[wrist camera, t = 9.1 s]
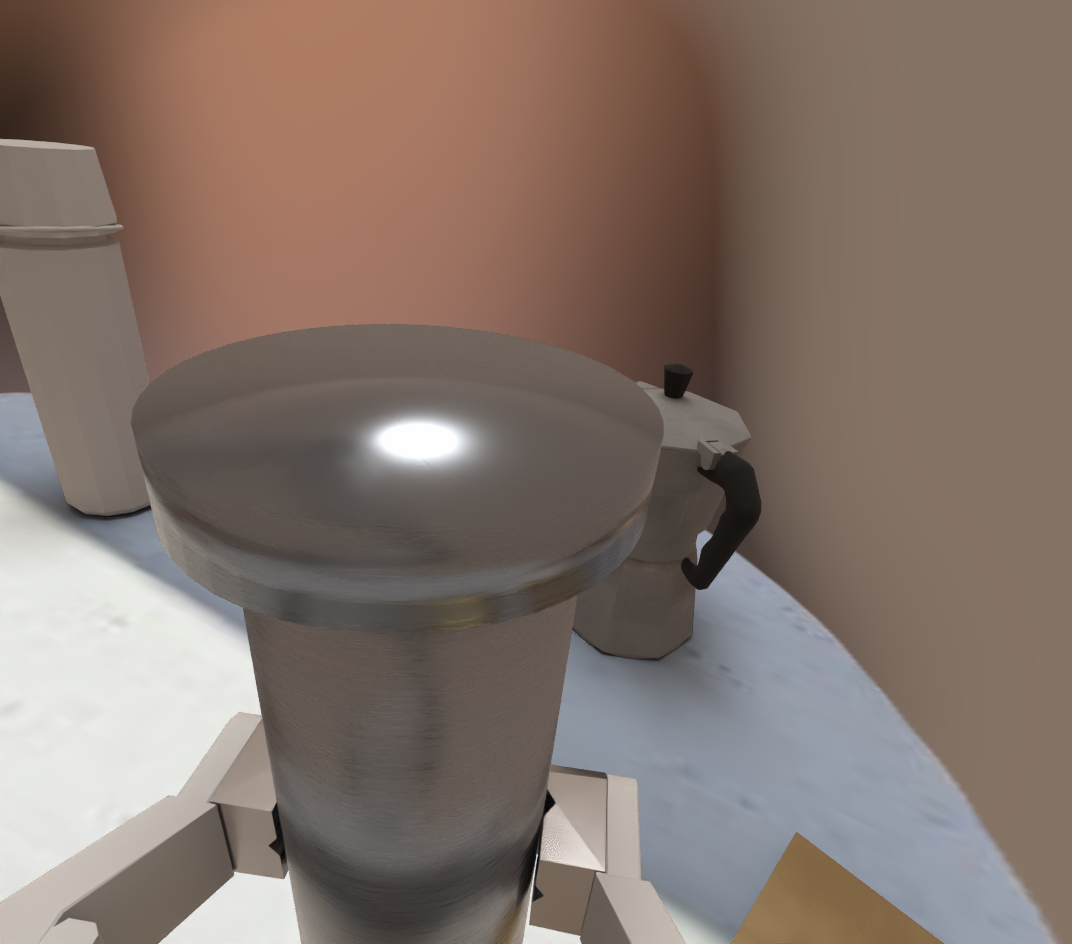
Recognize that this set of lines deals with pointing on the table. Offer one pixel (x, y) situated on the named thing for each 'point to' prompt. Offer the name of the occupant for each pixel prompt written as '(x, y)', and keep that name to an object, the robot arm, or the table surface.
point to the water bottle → (73, 319)
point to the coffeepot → (676, 528)
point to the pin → (402, 592)
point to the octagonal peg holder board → (823, 906)
